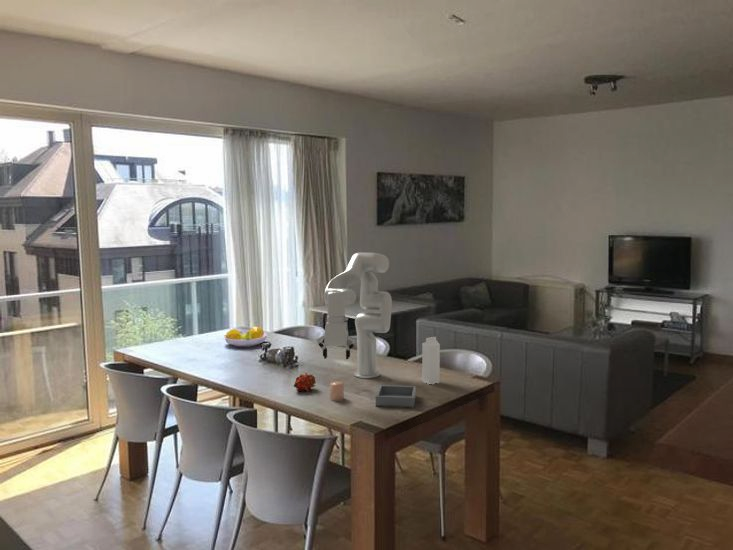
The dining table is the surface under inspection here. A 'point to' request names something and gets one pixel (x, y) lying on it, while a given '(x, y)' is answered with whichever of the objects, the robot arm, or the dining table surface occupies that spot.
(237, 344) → the fruit bowl
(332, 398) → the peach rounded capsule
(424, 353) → the milk
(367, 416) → the dining table surface
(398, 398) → the bin
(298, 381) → the dragon fruit
